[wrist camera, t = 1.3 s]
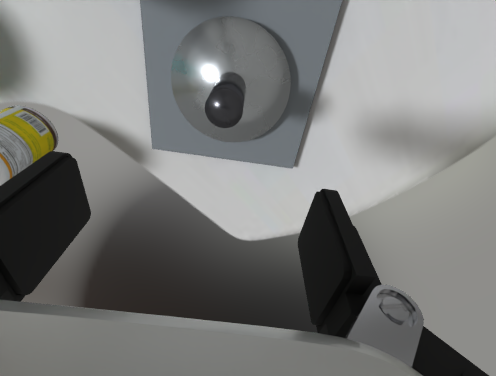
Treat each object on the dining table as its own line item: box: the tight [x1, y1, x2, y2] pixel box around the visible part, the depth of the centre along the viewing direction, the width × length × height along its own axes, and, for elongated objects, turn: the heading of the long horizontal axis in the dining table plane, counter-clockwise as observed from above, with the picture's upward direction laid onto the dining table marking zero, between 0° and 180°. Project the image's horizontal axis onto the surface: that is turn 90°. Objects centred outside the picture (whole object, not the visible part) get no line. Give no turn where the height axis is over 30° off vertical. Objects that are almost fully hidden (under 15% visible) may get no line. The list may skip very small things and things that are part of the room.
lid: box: [171, 16, 291, 143], centre depth 21 cm, size 11×11×7 cm
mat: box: [140, 0, 342, 168], centre depth 24 cm, size 16×16×1 cm
